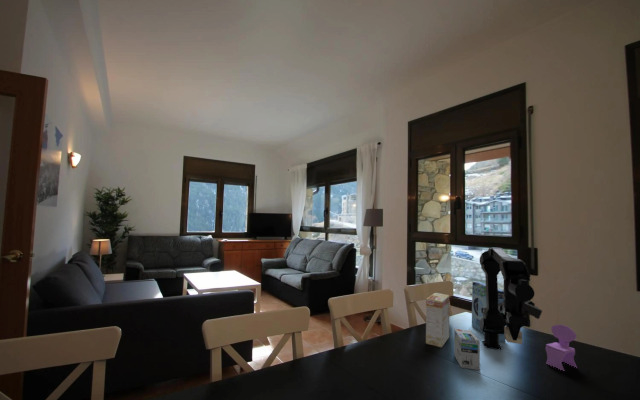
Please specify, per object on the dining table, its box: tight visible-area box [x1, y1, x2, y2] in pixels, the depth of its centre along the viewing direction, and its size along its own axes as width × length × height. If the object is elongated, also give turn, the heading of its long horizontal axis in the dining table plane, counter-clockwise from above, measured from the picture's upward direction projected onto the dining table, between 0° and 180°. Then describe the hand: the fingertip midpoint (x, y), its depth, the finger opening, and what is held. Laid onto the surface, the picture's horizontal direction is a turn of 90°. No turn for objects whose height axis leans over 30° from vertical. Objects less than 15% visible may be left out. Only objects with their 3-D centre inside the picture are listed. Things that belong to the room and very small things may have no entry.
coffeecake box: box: [425, 292, 450, 348], centre depth 134 cm, size 15×7×20 cm, turn 144°
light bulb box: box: [453, 328, 481, 371], centre depth 113 cm, size 11×7×11 cm, turn 168°
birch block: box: [504, 326, 523, 345], centre depth 107 cm, size 4×4×4 cm
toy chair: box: [545, 324, 578, 372], centre depth 113 cm, size 8×9×15 cm
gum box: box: [471, 281, 506, 343], centre depth 144 cm, size 20×5×23 cm, turn 4°
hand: (513, 337), depth 107 cm, fingers closed on birch block, 4 cm apart
